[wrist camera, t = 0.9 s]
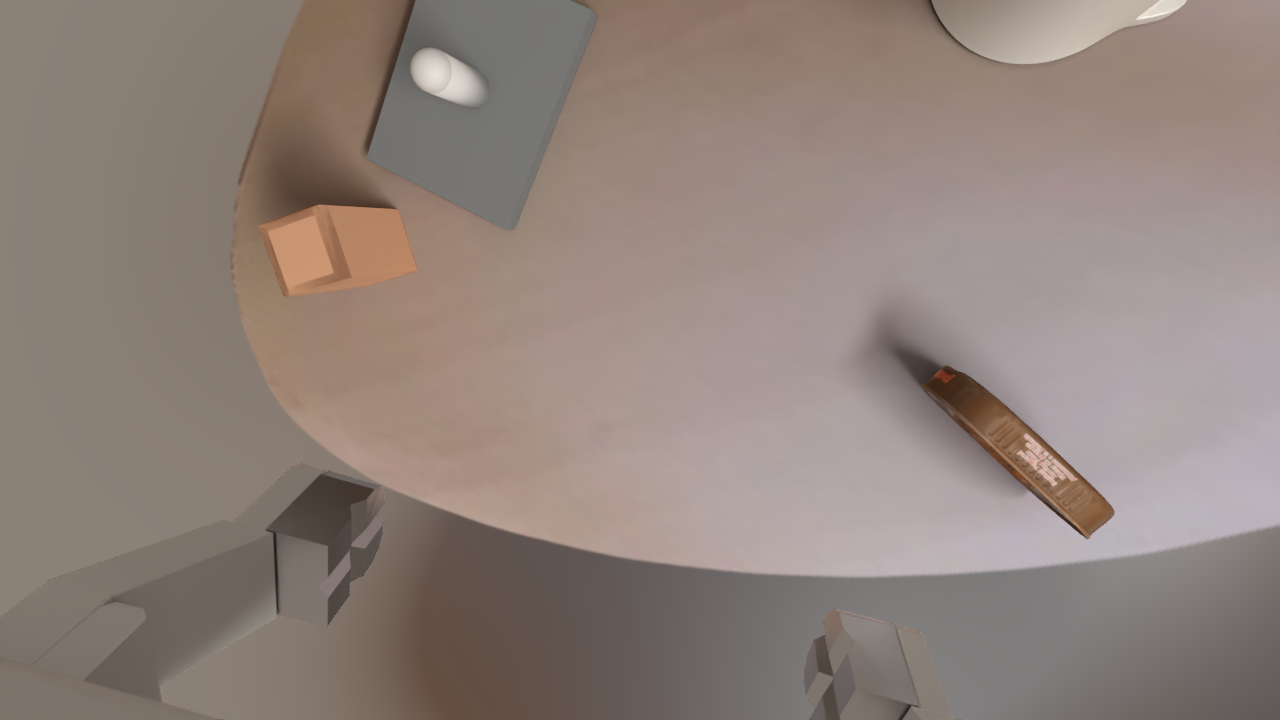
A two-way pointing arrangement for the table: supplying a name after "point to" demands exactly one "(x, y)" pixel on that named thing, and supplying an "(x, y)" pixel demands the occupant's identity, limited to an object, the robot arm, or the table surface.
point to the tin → (1019, 450)
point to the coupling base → (508, 118)
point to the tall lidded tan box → (337, 248)
